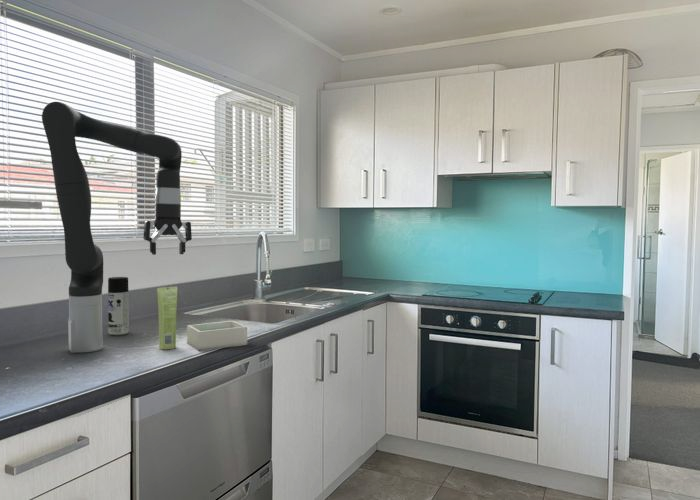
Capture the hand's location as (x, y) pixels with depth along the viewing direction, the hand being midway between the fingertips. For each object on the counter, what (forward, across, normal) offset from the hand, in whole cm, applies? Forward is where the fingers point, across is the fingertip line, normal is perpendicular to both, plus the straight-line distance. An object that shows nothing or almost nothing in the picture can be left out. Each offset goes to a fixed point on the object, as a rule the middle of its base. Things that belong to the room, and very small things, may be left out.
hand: (167, 254), depth 167 cm
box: (+30, +15, -3) cm, 34 cm away
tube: (+30, 0, 0) cm, 30 cm away
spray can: (+30, -9, +30) cm, 43 cm away
